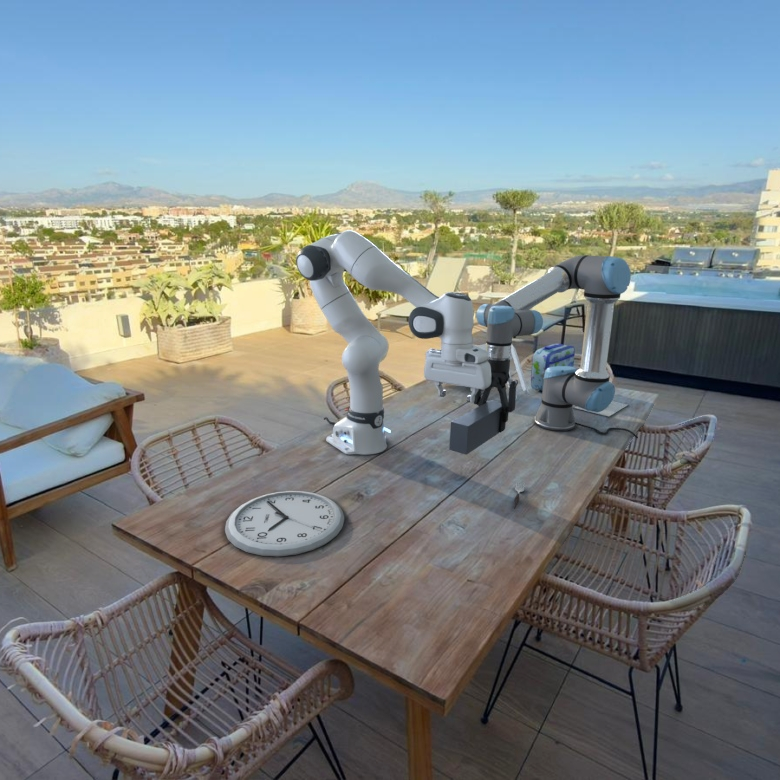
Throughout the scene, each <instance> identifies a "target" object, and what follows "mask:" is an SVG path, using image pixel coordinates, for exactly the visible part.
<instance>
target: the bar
mask: <svg viewBox="0 0 780 780" xmlns="http://www.w3.org/2000/svg"><path fill="white" fill-rule="evenodd" d="M500 412H502V406H501V401H499V400H495V399H490V400H487V402H486V403H484V404H483V405H481V406H477V407H475V408H473V409H471V410H470V411H467V412H466V413H464V414H463V415H461V416H459V417H457V418H455V419H453V420H452V421H450V429H449V447H448V449H449V451H452V452H454V453H455V452H456V453H459V454H462V455H465V456H467V455H468V454H470V453H471V452H474V450H476V449H478V448H479V447H481V446H482V445H483V444H485V443H486V442H488V441H489V440H491V439H493V438H494V437H495V436H497V435H499V434H500V432H498V431H499V419H500ZM506 424H507V422H505V426H506ZM505 429H506V427H505V428H504V430H505Z"/></svg>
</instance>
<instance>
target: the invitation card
mask: <svg viewBox="0 0 780 780" xmlns="http://www.w3.org/2000/svg"><path fill="white" fill-rule="evenodd" d="M628 406H629V404H627V403H623V402H618V401H614V400H612V402H611V403H610V405H609V406H608V407H607V408H606V409H605V410H603V411H601V412H593V411H588V410H586V409H583V408H580V407H577V406H574V407H573V409H575V410H581V411H584V412H587V413H593V414H596V415H600V416H604V417H608V418H609V417H611V416H613V415H614V414H616V413H617V412H619V411H621V410H623V409H624V408H626V407H628Z"/></svg>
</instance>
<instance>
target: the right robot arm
mask: <svg viewBox="0 0 780 780" xmlns="http://www.w3.org/2000/svg"><path fill="white" fill-rule="evenodd" d="M631 273H632V272H631V267H630V265H629V264H628V262H627V261H626V260H625V259H624V258H621V257H617V256H611V255H609V256H608V255H588V254H580V255H576V256H573V257H570V258H568V259H565V260H563V261H561V262H559V263H557V264H555V265H554V266H552V267H550V268H549V269H548V270H547V273H546V274H544V275H542V276H540V277H539V278H537V279H534V281H532V282H530V283H528V284H527V285H525V286H522V287H521V288H519V289H518V290H516V291H515V292H513V293H511V294H509V295H508V296H506V297H504V298H503V299H500V300H499V301H497V302H495V303H492V304H491V303H484V304H481V305H480V306H479V307H478V308H477V310H476V314H475V315H476V321H477V323H478V325H480V326H482V327H484V328H486V342H485V344H486V351H487V352H488V353H489V359H488V360H486V361H488V362H489V364H490V366H491V385H490V386H489V387H488V388H486V389H484V390H482V389H479V390H478V392H477V393H476V395H475V400H474V402H473V405H476V406H477V407H479V406H481V405H483V404H484V403H486V402H488V399H489V396H490V394H491V391H492V388H495V389H497V392H498V394H499V395H498V396H499V400H500V401H499V402H501V406H502V412H500V419H499V431H498V432H500V433H503V432H504V431H505V429H506V425H505V422H506V423H507V422H508V421H509V413H512V412H514V411H515V409H516V400H517V398H516V395H517V386H518V383H519V379H514V378H512V377H511V378H512V379H511V378H510V376H509V371H510V366H511V360H510V359H509V358H510V357H511V344H512V345H513V338H515V337H522V336H523V337H524V336H531V335H535V334H537V333H540V332H541V330H542V328H543V327H544V318H543V315H542V313H540V312H539V311H538V310H536V309H532V308H534V307H536V306H537V305H539V304H541V303H542V302H545V300H547V299H549V298H551V297H553V296H554V295H556V294H557V293H565V292H566V291H569V290H576V289H578V290H583V298H584V299H585V301H587V304H586V305H587V306H586V315H585V324H584V330H583V331H584V332H583V341H582V347H581V348H582V350H581V359H580V367H579V368H577V367H575V366H573V367H570V366H555V367H549V368H547V369H546V370H545V375H544V378H543V379H544V380H543V390H541V391H542V392H541V402H540V405H539V407H538V410H537V411H536V413H535V415H534V417H533V418H534V424H535V425H536V426H537V427H539V428H542V429H544V430H549V431H556V432H567V431H572V430H574V429H575V428H576V426H580V427H583V428H586V429H590V430H593V431H595V432H597V434H599V435H607V434H609V432H610V431H612V430H613V431H624V432H628V433H629V434H631V435H632V436H634V438H635V439H639V437H638V435H637V434H636V433H634V432H633V431H632V430H630V429H628V428H624V427H608V428H607V429H606V431H600V430H599V429H597V428H596V427H592V426H590V425H586V424H582V423H579V422H576V418H575V417H576V416H575V413H574V407H576V406H577V407H580V408H583V409H586V410H588V411H593V412H601V411H603V410H605V409H606V408H607V407H608V406H609V405H610V403H611V402H612V401H614V397H615V394H616V387H615V385H614V383H612V382H611V381H610V378H611V377H610V376H611V375H610V373H609V372H608V371H607V365H608V364H607V363H608V356H609V349H610V340H611V332H612V326H613V319H614V312H615V311H614V310H615V303H616V302H617V301H618V300H620V299H621V294H624V293H625V292H626V291H627V290H628V287H630V284H631V278H632V275H631ZM507 382H509V386H510V387H508V394H507V385H506V384H507ZM482 391H483V392H482ZM573 406H574V407H573ZM588 411H587V412H588ZM504 428H505V429H504ZM500 433H499V434H500Z"/></svg>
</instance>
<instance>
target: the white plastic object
mask: <svg viewBox="0 0 780 780" xmlns="http://www.w3.org/2000/svg"><path fill="white" fill-rule="evenodd" d="M476 346H477V347H479V348H481V349H483V350H485V351H486V343H483V344H479V345H476ZM509 359H510V361H511V360H513V363H514V366H515V369H516V372H517V376H518V380H519V382H520V385H521V389H522V391H523V393H524V395H525V396H526V397H528V396H531V395H530V390H529V388H528V387H529V386H528V384H527V381H526V378H525V375H524V371H523V369H522V368H523V367H522V366H521V362H520V359H519V355H518V352H517V349H516V347H515V346H514V345H513V343H512V344H511V357H510V358H509ZM509 376H510V378H511V379H513V378H512V375H511V371H510V370H509ZM443 384H444V385H445V386H449V385H451V384H448V383H443ZM506 384H507V386H508V388H509V387H510V386H509V382H507V383H506ZM516 399H517V394H516Z"/></svg>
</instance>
